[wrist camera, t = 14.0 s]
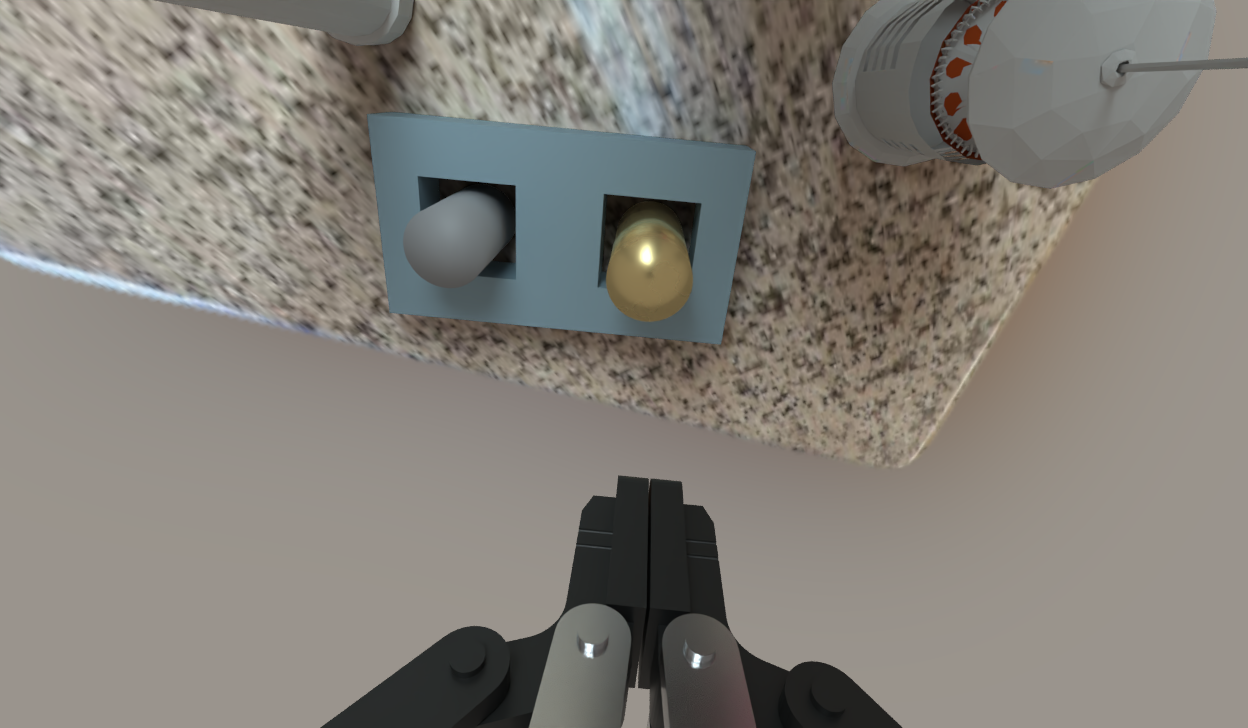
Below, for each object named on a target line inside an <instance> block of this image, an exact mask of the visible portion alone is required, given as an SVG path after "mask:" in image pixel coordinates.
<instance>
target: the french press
mask: <svg viewBox="0 0 1248 728" xmlns="http://www.w3.org/2000/svg"><path fill="white" fill-rule="evenodd" d="M1215 17H1216V8H1215V4H1214V0H880V1H879V2H877V3H876V4H875V5H873V6H872V7H871V8H870V9H868V10H867V11H866V12H865V13H864V15H863V16H862V18H861V19H860V21H859V22H858V24H857V25H856V27H855V28H854V30H853V31H852V33H851V34H850V36H849V37H848V39H847V40H846V42H845V43H844V45H843V46H842V50H841V53H840V57H839V61H838V64H837V68H836V71H835V75H834V79H833V82H832V86H833V98H834V110H835V118H836V120H837V122H838V124H839V126H840V128H841V130H842V131H843V133H844V135H845V137H846V139H847V141H848V142H849V144H850V145H851V146H852V147H853V148H855V149H856V150H858V151H859V152H861V153H862V154H863V155H865V156H866V157H868V158H869V159H871V160H872V161H873V162H878V163H885V164H891V165H898V166H908V165H912V164H916V163H920V162H924V161H928V160H932V159H936V158H937V159H941V160H946V161H951V162H958V163H964V164H971V165H981V164H986V163H987V164H988V165H990V166H991V167H992V168H994V169H995V170H996V171H998V172H999V173H1000V174H1001V175H1003V176H1004V177H1005V178H1007V179H1008V180H1009V181H1011V182H1014V183H1020V184H1026V185H1032V186H1038V187H1044V188H1049V189H1051V188H1055V187H1060V186H1064V185H1069V184H1073V183H1078V182H1082V181H1087V180H1091V179H1095V178H1097V177H1099V176H1100V175H1102V174H1104V173H1105V172H1107V171H1109V170H1111V169H1112V168H1114V167H1116V166H1117V165H1119V164H1121V163H1123V162H1125V161H1126V160H1128V159H1130V158H1131V157H1133V156H1135V155H1137V154H1138V153H1140V152H1141V151H1142V149H1144V148H1145V147H1146V146H1147V144H1149V142H1151V140H1153V138H1155V136H1156V135H1157V134H1158V133H1159V132H1160V131H1161V130H1162V129H1163V128H1164V127H1165V126H1166V125H1167V124H1168V123H1169V122H1170V121H1171V120H1172V119H1173V118H1174V117H1175V116H1176V115H1177V114H1178V113H1179V111H1180V109H1181V108H1182V106H1183V104H1184V102H1185V101H1186V99H1187V97H1188V95H1189V94H1190V92H1191V90H1192V88H1193V86H1194V85H1195V83H1196V81H1197V80H1198V78H1199V76H1200V74H1201V72H1202V71H1203V70H1209V69H1235V68H1237V69H1238V68H1248V58H1235V59H1234V58H1233V59H1214V60H1208V55H1209V49H1210V44H1211V39H1212V32H1213V28H1214V23H1215ZM951 148H953V149H951ZM951 151H958V152H957V153H951V154H944V153H945V152H951ZM958 154H962V155H963V156H960V157H942V156H950V155H958ZM959 158H969V159H964V160H953V159H959Z"/></svg>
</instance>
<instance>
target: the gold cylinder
mask: <svg viewBox="0 0 1248 728" xmlns="http://www.w3.org/2000/svg"><path fill="white" fill-rule="evenodd" d="M606 286H607V291H608V294H609V296H610V299H611V300H612V302H613V304H614V305H615V306H616V307H617V308H618V309H619V310H620V311H621V312H622V313H623V314H625V315H626V316H628V317H630V318H632V319H635V320H639V321H644V322H654V321H660V320H663V319H666V318H668V317H670V316H672V315H674V314H675V313H677V312H678V311H679V310H680V309H681V308H682V307H683V306H684V305H685V303H686V302H687V300H688V298H689V296H690V293H691V291H692V286H693V274H692V269H691V264H690V260H689V256H688V251H687V247H686V243H685V238H684V234H683V230H682V225H681V222H680V220H679V218H678V216H677V215H676V213H675V212H674V211H673V210H672V209H671V208H670V207H668V206H666V205H665V204H662V203H659V202H655V201H645V202H641V203H638V204H635V205H634V206H632V207H631V208H629V209H628V210H627V211H626V212H625V213H624V214H623V216H622V217H621V219H620V221H619V224H618V228H617V232H616V236H615V240H614V244H613V249H612V253H611V257H610V261H609V265H608V269H607V275H606Z"/></svg>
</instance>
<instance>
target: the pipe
mask: <svg viewBox="0 0 1248 728" xmlns="http://www.w3.org/2000/svg"><path fill="white" fill-rule="evenodd" d="M155 1H160V2H166V3H171V4H177V5H182V6H188V7H193V8H199V9H204V10H210V11H215V12H221V13H226V14H232V15H237V16H243V17H248V18H254V19H259V20H265V21H271V22H276V23H282V24H287V25H293V26H298V27H304V28H309V29H315V30H320V31H326V32H327V33H328V34H330V35H331V36H332V37H333V38H335V39H338V40H340V41H343V42H346V43H349V44H352V45H356V46H362V45H379V44H388V43H390V42H392V41H393V40H395V39H396V38H397V37H399V36H400V35H402V34H403V32H404V31H405V29H406V27H407V25H408V23H409V22H410V20H411V18H412V9H413V1H414V0H155Z"/></svg>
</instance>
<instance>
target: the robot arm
mask: <svg viewBox="0 0 1248 728" xmlns="http://www.w3.org/2000/svg"><path fill="white" fill-rule="evenodd" d="M648 491H649V493H648ZM638 662H639V674H638V688H643V689H650V713H649V719H648V724H647V728H902V727H901V726H900V725H899V724H898V723H897V722H896V721H895V720H894V719H893V718H892V717H891V716H890V715H888V714H887V712H885V711H884V710H883V709H882V708H881V707H880V706H879V705H878V704H877V703H876V702H875V701H874V700H873V699H872V698H871V697H870V696H869V695H868V694H866V692H864V691H863V690H862V689H861V688H860V687H859V686H858V685H857V684H856V683H855V682H854V681H853V680H852V679H851V678H849V677H848V676H847V675H846V674H845V673H843V672H842V671H840V670H839V669H837V668H835V667H833V666H831V665H828V664H825V663H821V662H813V661H811V662H804V663H801V664H798V665H797V666H795V667H794V668H793V669H792V670H791V671H790V672H789V671H787V670H785V669H782V668H780V667H777V666H775V665H772V664H770V663H768V662H765V661H763V660H761V659H759V658H757V657H755V656H754V655H752V654H751V653H749V652H748V651H747V650H745V649H744V648H743V647H742V646H741V645H740V644H739V643H738V641H737V640H736V639H735V637H734V636H733V634H732V633H731V631H730V629H729V626H728V623H727V619H726V612H725V605H724V597H723V589H722V582H721V574H720V567H719V561H718V551H717V545H716V536H715V529H714V523H713V521H712V520H711V518H710V517H709V515H708V514H707V512H706V510H705V509H704V507H703V506H697V505H687V504H683V490H682V482H680V481H671V480H660V479H651V480H650V486H649V479H648V478H639V477H638V478H637V477H628V476H618V484H617V494H616V498H614V497H603V496H593V497H592V499H591V500H590V501H589V502H588V503H587V505H586V506H585V507H584V509H583V510H582V514H581V520H580V526H579V532H578V537H577V543H576V549H575V555H574V561H573V567H572V573H571V578H570V584H569V590H568V596H567V601H566V605H565V609H564V611H563V613H562V615H561V616H560V618H559V619H558V620H557V621H556V622H555V623H554V624H553V625H552V626H551V627H550V628H548V629H547V630H545V631H544V632H542V633H540V634H537V635H535V636H531V637H527V638H523V639H518V640H513V641H509V642H505V640H504V639H503V638H502V636H501V635H499V634H498V633H497V632H495V631H493V630H492V629H488V628H486V627H480V626H470V627H464V628H461V629H458V630H456V631H453V632H451V633H450V634H448V635H446V636H445V637H443V638H442V639H441V640H439V641H438V642H436V643H435V644H434V645H432V646H431V647H430V648H428V649H427V650H426V651H424V652H423V653H422V654H420V655H419V656H418V657H416V658H415V659H413V660H412V661H411V662H409V663H408V664H407V665H405V666H404V667H402V668H401V669H400V670H398V671H397V672H396V673H394V674H393V675H392V676H390V677H389V678H387V679H386V680H385V681H383V682H382V683H381V684H379V685H378V686H377V687H375V688H374V689H373V690H371V691H370V692H368V693H367V694H366V695H364V696H363V697H362V698H360V699H359V700H358V701H356V702H355V703H353V704H352V705H351V706H349V707H348V708H347V709H345V710H344V711H343V712H341V713H340V714H338V715H337V716H336V717H334V718H333V719H332V720H330V721H329V722H328V723H326V724H325V725H323V726H322V727H321V728H621V726H622V724H623V721H624V716H625V708H626V702H627V695H628V688H629V687H630V688H635V682H636V676H637V668H638Z"/></svg>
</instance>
